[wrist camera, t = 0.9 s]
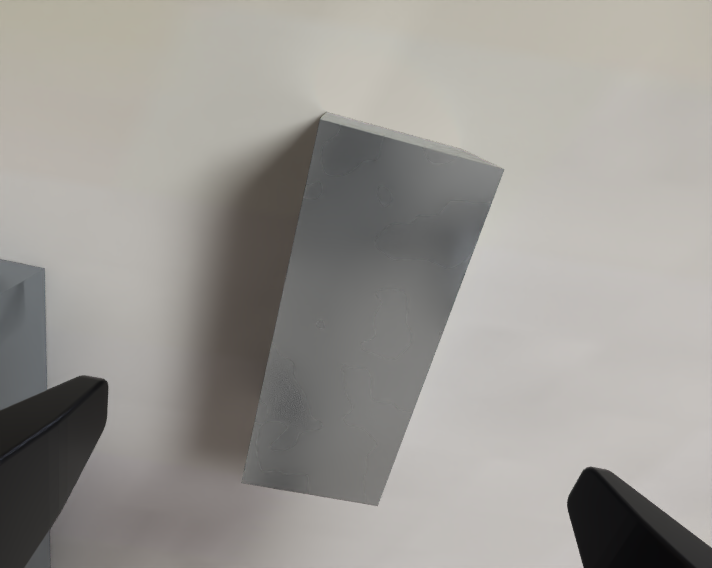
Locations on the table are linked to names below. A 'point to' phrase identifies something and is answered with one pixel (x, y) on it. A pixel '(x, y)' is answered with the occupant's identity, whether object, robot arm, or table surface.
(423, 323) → the block
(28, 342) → the grey divided tray
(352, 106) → the table surface
